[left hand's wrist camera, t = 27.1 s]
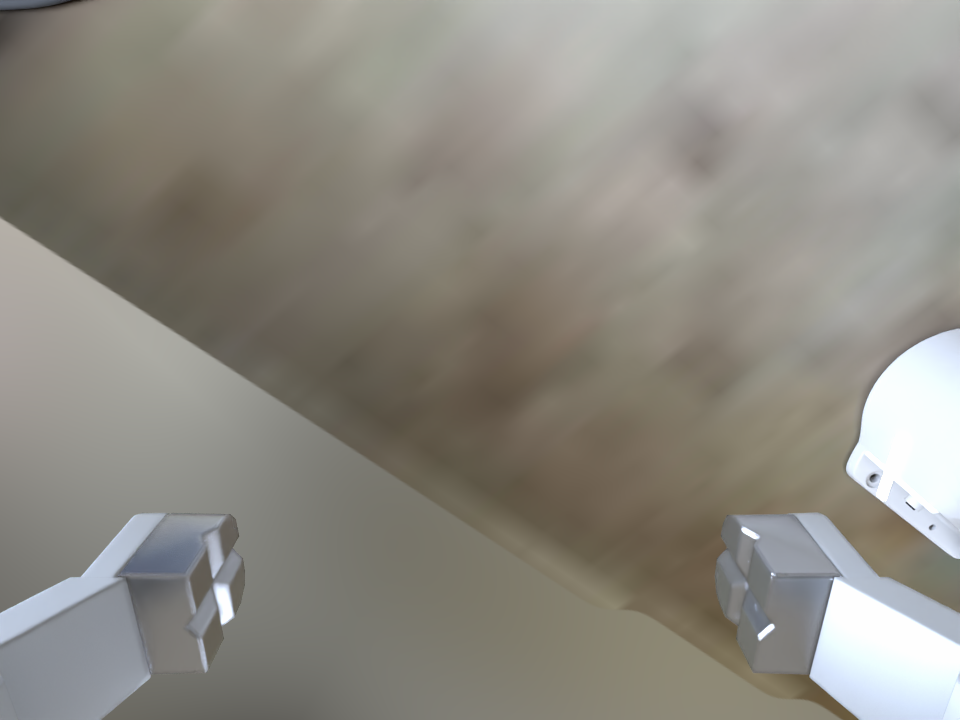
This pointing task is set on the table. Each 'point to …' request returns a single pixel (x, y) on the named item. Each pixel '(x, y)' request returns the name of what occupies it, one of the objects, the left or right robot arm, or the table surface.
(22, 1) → the right robot arm
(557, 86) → the table surface
